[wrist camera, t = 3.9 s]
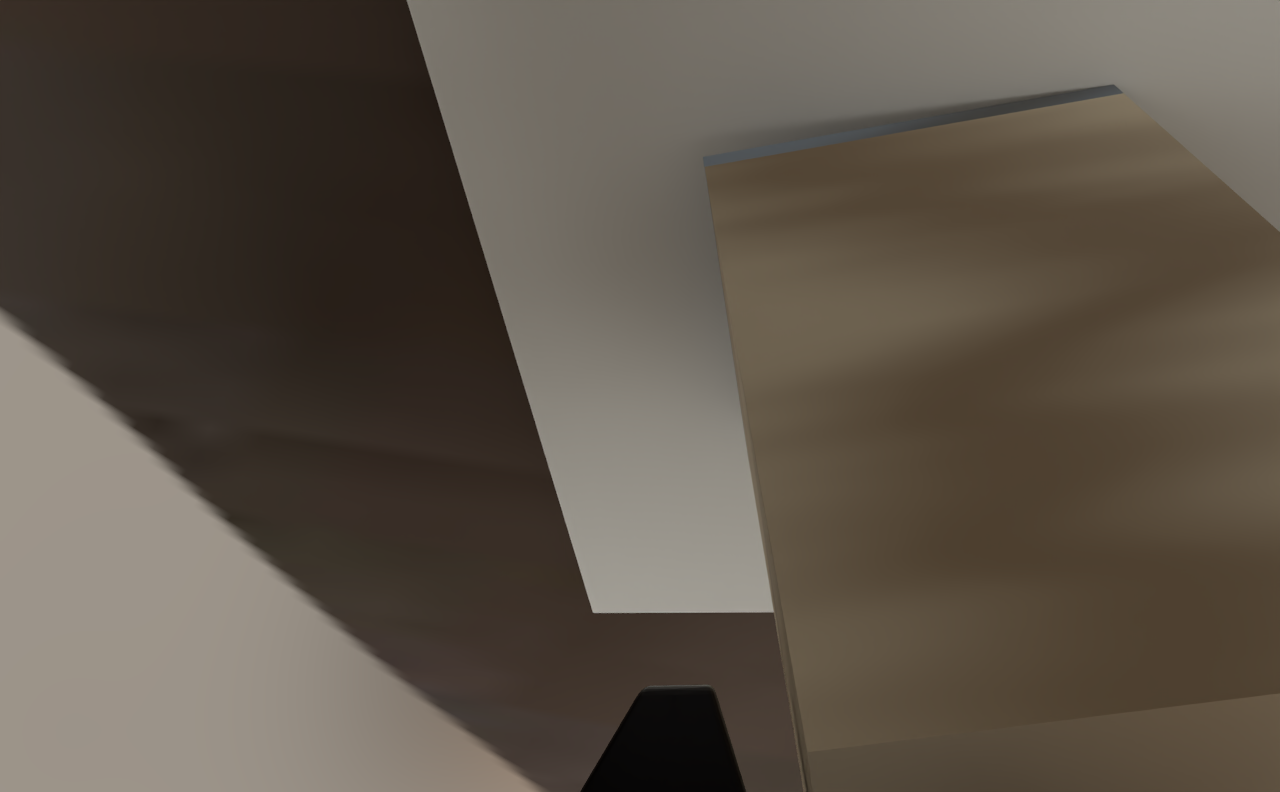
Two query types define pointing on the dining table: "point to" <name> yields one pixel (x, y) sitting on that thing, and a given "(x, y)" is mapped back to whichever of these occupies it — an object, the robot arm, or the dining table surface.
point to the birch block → (1012, 449)
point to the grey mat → (682, 222)
